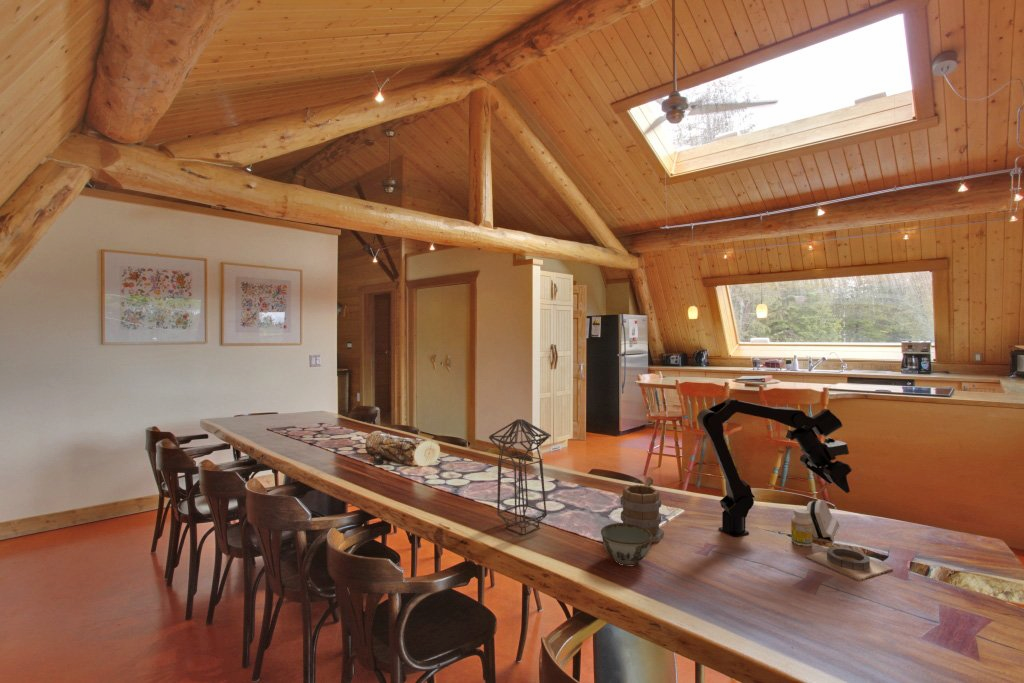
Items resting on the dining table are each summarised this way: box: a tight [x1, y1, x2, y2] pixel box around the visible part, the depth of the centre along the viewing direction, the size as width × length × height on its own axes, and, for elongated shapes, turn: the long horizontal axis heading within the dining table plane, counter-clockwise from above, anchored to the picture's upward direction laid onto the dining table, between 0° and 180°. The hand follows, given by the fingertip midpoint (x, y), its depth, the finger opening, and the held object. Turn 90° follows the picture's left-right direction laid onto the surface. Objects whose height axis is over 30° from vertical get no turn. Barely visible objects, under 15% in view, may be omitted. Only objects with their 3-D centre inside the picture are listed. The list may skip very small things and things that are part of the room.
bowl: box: [600, 522, 652, 566], centre depth 133 cm, size 14×13×8 cm
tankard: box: [620, 476, 665, 543], centre depth 154 cm, size 20×13×15 cm, turn 148°
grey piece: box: [806, 499, 840, 540], centre depth 154 cm, size 17×5×10 cm, turn 141°
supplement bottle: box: [790, 508, 813, 547], centre depth 145 cm, size 5×5×10 cm
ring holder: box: [805, 546, 894, 582], centre depth 131 cm, size 14×14×2 cm
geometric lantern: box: [488, 418, 552, 535], centre depth 156 cm, size 16×16×35 cm
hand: (839, 487), depth 150 cm, fingers open, 9 cm apart
